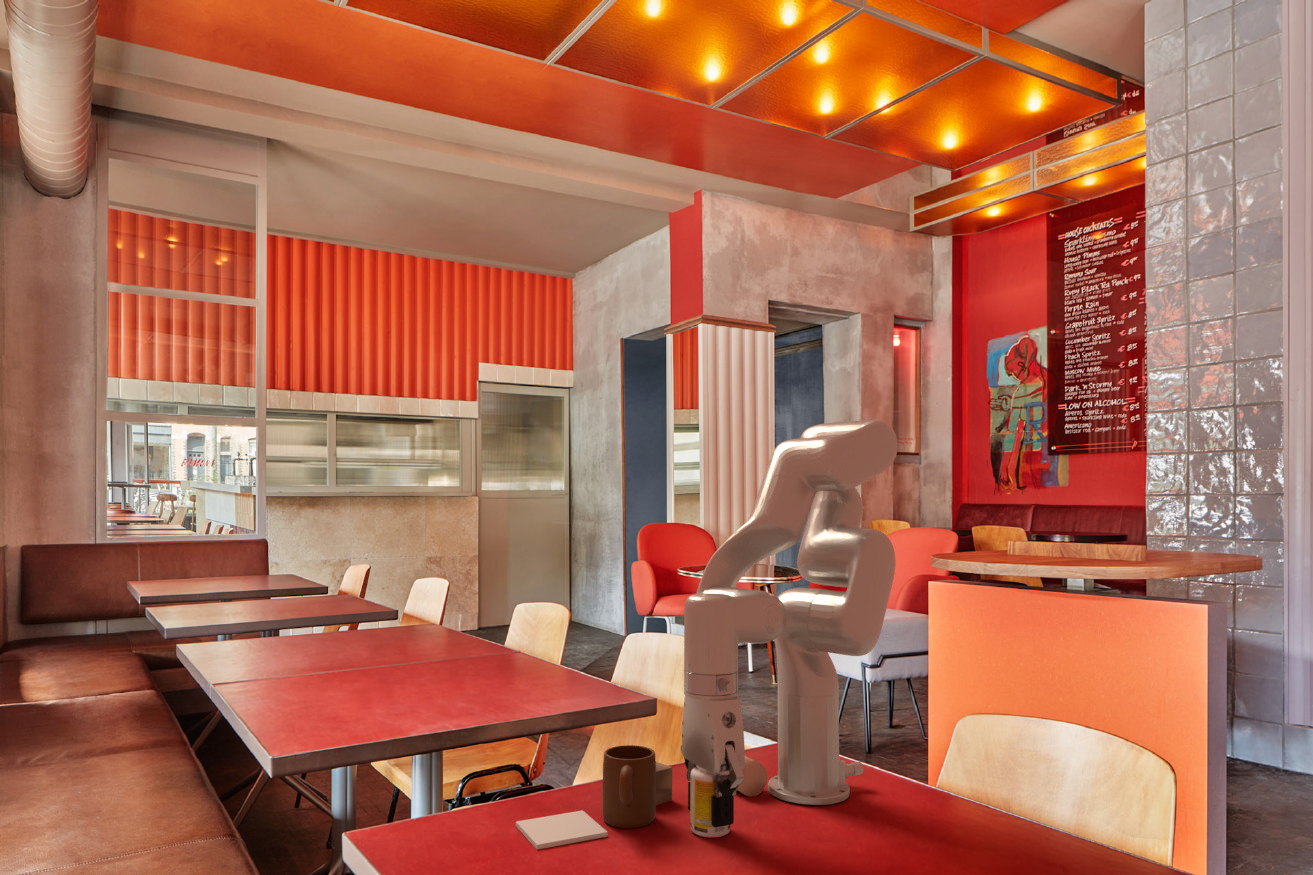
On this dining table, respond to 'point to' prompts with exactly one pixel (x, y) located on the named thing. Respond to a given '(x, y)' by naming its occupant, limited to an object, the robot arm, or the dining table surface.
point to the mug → (629, 786)
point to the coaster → (560, 829)
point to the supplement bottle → (703, 803)
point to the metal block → (663, 783)
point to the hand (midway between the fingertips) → (710, 815)
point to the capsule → (753, 778)
